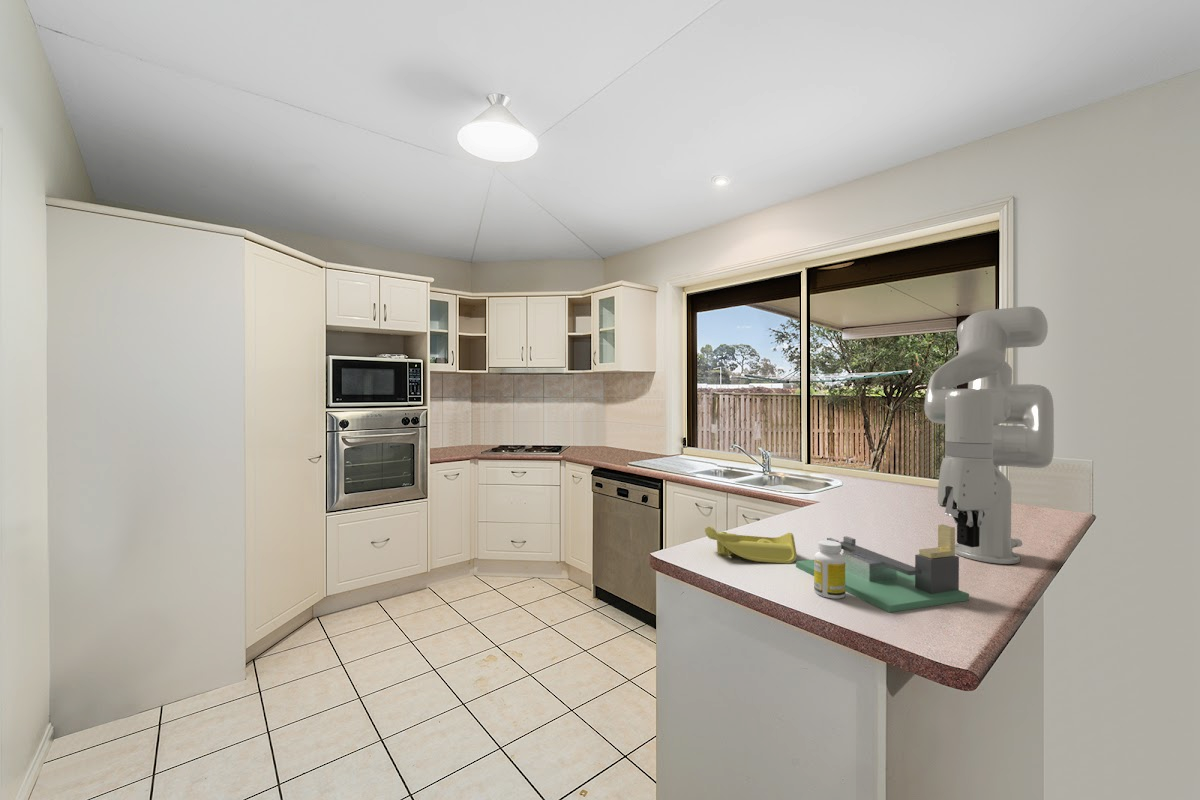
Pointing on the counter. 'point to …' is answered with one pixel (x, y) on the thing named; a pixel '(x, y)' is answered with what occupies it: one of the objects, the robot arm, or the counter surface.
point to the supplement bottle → (829, 570)
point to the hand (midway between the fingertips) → (967, 544)
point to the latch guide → (937, 574)
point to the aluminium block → (867, 568)
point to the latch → (942, 544)
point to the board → (890, 589)
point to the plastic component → (755, 546)
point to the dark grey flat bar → (880, 559)
